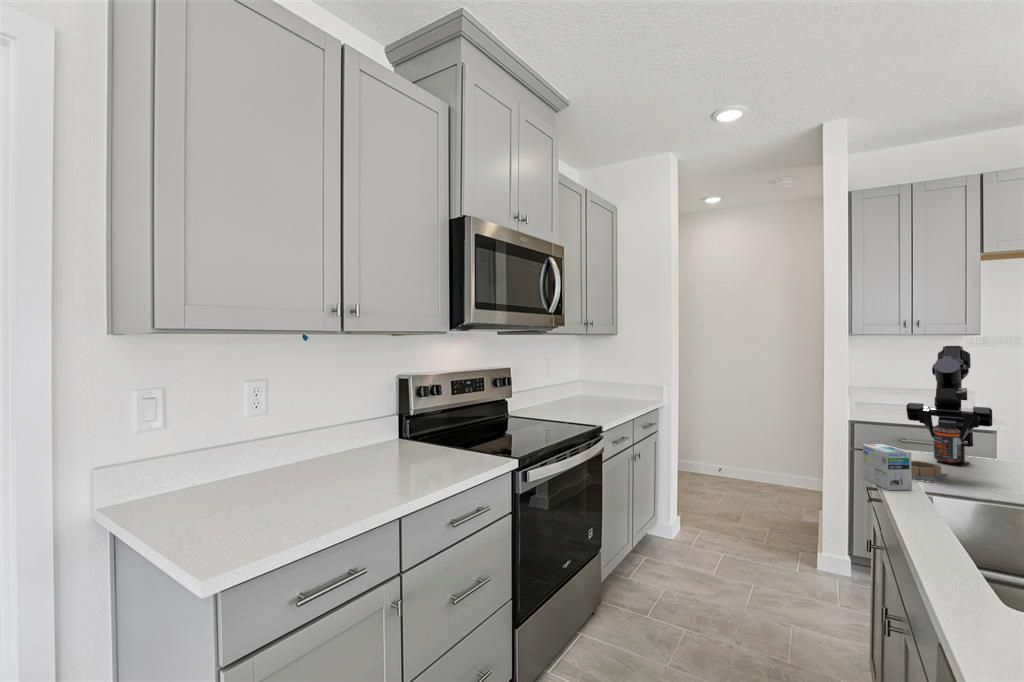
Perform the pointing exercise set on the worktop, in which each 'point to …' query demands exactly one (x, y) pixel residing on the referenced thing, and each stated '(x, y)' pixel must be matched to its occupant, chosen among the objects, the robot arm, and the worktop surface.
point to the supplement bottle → (947, 441)
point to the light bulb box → (887, 466)
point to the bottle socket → (926, 471)
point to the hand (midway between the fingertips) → (947, 438)
